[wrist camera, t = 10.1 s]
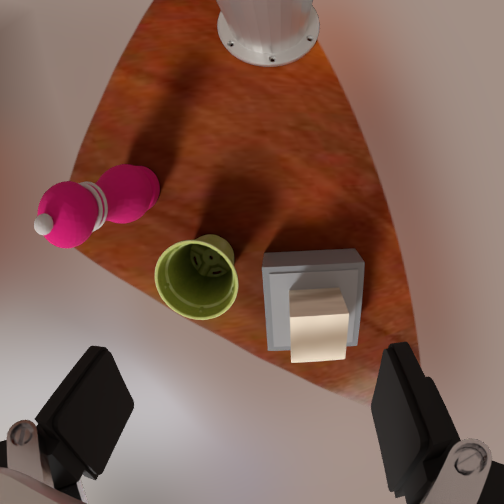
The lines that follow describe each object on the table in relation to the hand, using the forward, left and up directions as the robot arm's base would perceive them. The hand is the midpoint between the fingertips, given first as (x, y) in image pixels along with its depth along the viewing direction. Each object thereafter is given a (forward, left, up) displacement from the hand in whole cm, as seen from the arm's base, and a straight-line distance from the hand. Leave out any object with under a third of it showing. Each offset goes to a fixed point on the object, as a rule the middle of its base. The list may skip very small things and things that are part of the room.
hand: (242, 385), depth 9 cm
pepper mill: (-4, -17, -30) cm, 35 cm away
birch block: (+12, +5, -25) cm, 28 cm away
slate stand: (+12, +5, -30) cm, 32 cm away
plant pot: (+6, -8, -30) cm, 32 cm away
